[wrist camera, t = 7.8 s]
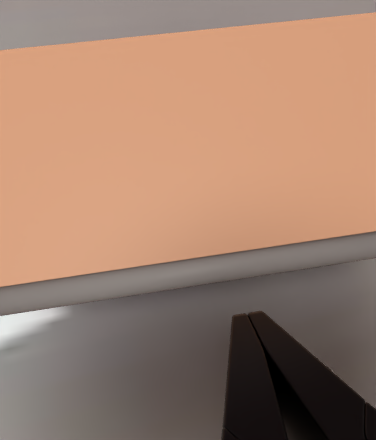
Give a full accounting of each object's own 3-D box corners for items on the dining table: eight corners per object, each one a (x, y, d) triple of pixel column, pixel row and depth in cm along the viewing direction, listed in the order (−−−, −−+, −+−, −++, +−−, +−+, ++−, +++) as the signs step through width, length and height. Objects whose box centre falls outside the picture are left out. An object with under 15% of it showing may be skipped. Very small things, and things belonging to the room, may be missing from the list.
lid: (433, 248, 16) (454, 246, 14) (-26, 319, 14) (-44, 323, 13) (375, 29, 17) (390, 11, 16) (-38, 72, 16) (-55, 56, 15)
